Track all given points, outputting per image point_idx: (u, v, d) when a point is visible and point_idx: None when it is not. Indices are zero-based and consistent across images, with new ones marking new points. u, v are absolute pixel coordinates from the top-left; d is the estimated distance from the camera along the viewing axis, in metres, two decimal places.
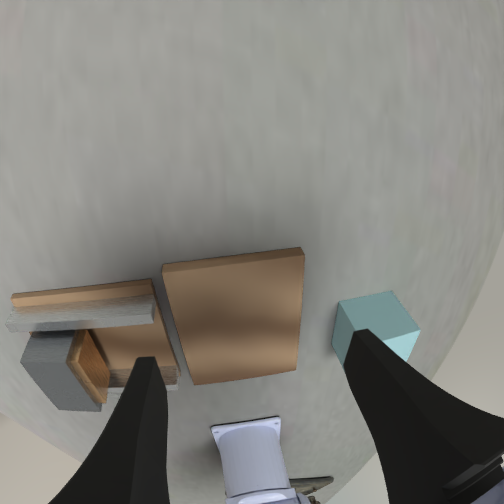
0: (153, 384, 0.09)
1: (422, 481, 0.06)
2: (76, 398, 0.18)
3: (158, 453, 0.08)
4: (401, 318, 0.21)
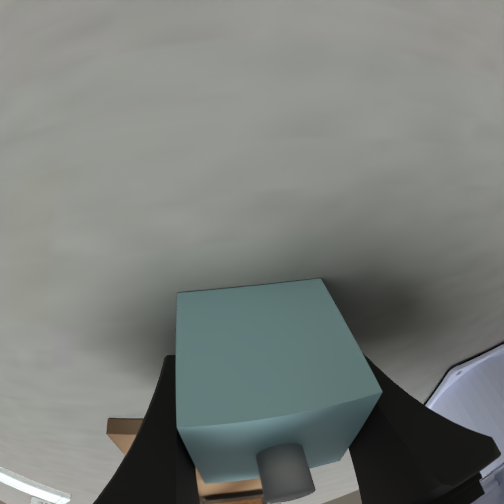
0: None
1: (392, 495, 0.06)
2: None
3: None
4: None
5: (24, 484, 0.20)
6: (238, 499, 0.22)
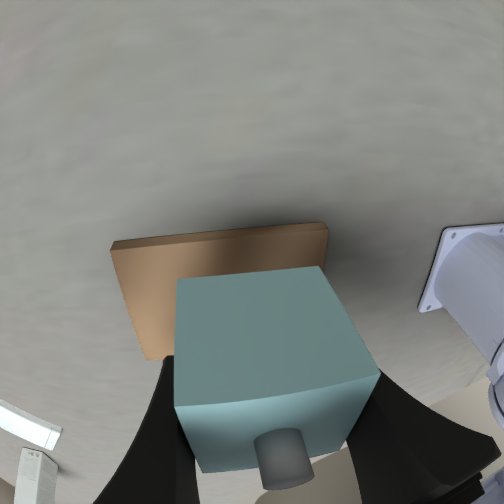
0: None
1: (392, 495, 0.06)
2: None
3: (189, 452, 0.08)
4: None
5: (12, 414, 0.23)
6: None
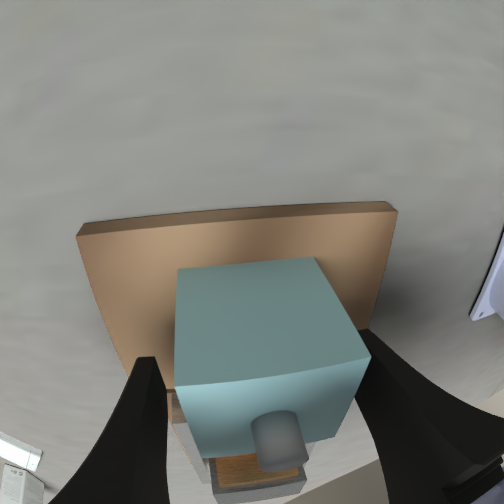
0: (153, 384, 0.09)
1: (422, 481, 0.06)
2: (277, 490, 0.16)
3: (158, 453, 0.08)
4: None
5: None
6: None
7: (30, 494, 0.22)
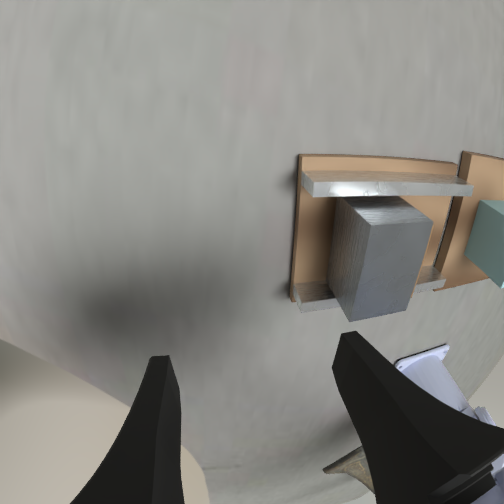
0: (168, 383, 0.09)
1: (408, 488, 0.06)
2: (397, 289, 0.16)
3: (173, 453, 0.08)
4: None
5: None
6: None
7: None
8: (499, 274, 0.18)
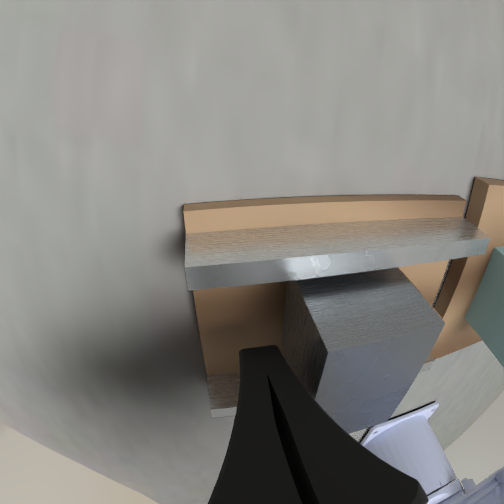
0: None
1: None
2: (375, 408, 0.10)
3: None
4: None
5: None
6: None
7: None
8: None
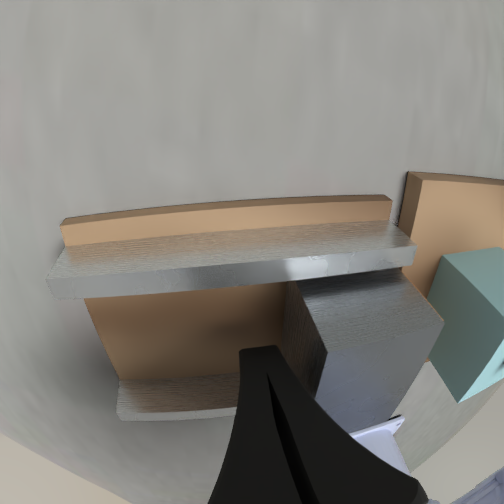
0: None
1: None
2: (375, 407, 0.10)
3: None
4: None
5: None
6: None
7: None
8: (459, 383, 0.11)
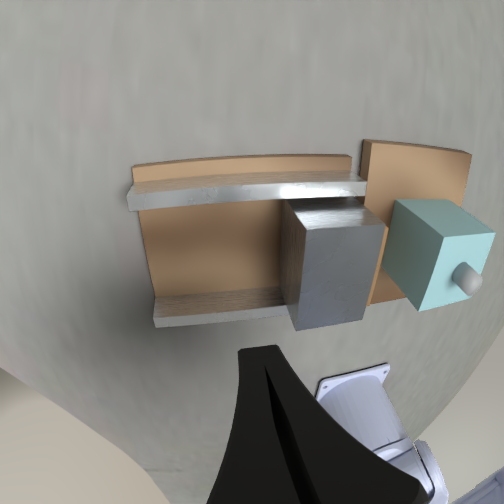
0: None
1: None
2: (348, 297, 0.16)
3: None
4: (471, 220, 0.16)
5: None
6: None
7: None
8: (416, 294, 0.16)
